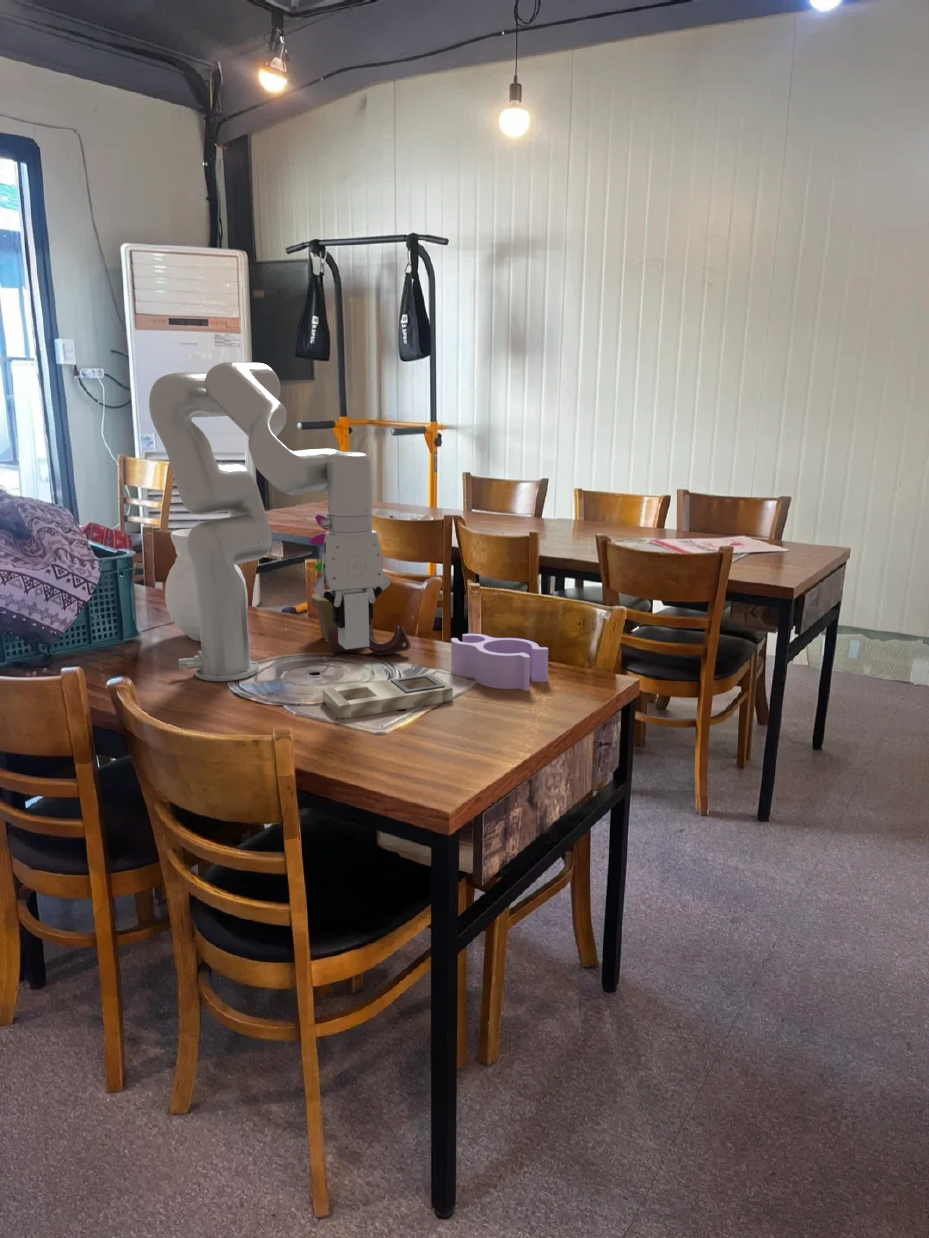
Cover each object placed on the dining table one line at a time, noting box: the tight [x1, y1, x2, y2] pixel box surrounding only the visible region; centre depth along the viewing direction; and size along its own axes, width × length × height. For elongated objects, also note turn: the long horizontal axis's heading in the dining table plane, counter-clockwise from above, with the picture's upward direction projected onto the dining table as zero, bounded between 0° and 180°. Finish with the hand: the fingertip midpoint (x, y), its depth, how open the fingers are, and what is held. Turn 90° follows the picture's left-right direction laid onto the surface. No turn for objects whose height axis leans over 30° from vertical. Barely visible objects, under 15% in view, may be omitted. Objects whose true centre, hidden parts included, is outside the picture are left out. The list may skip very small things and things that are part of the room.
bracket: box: [327, 621, 411, 656], centre depth 200 cm, size 6×17×10 cm, turn 87°
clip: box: [450, 633, 549, 692], centre depth 184 cm, size 20×12×7 cm, turn 53°
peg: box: [338, 589, 369, 649], centre depth 164 cm, size 4×4×10 cm
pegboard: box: [322, 672, 454, 720], centre depth 170 cm, size 22×10×3 cm, turn 115°
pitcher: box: [164, 527, 249, 642], centre depth 212 cm, size 19×18×25 cm
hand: (353, 623), depth 164 cm, fingers closed on peg, 4 cm apart
